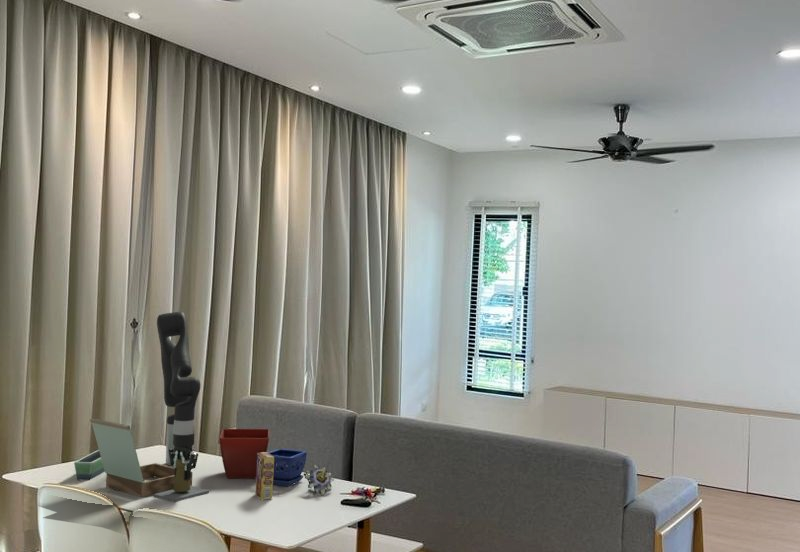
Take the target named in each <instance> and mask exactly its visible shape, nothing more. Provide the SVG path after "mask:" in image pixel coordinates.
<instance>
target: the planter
mask: <svg viewBox="0 0 800 552" xmlns="http://www.w3.org/2000/svg"><path fill="white" fill-rule="evenodd" d="M73 464H74V469H75V474H76V480H78V479H87V480H86V481H91V480H92V479H94V478H97V477H98V476H99V475H101V474H102V473H105V470H104V467H103V463H102V459H101V455H100V452H99V449H97V450H96V451H93V452H91V453H89V454H87V455H86V456H83V457H82V458H80V459H78V460H76V461H74V463H73ZM90 479H91V480H90Z"/></svg>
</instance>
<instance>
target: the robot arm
mask: <svg viewBox="0 0 800 552" xmlns="http://www.w3.org/2000/svg"><path fill="white" fill-rule="evenodd" d="M156 318H157V319H156V327H157V333H158V339H159V344H160V356H161V357H160V358H161V370H162V376H163V399H164V404H165V406H166V407H169V408H174V413H173V414H171V415H168V416H167V418H166V439H165V440H166V445H165V448H166V449H165V466H170V467H174V468H175V474H174V475H175V477H176V471H177V468H176V466H175V463H176V461H177V460H179V459H180V460H182V463H183V464H184V465H185V466H184V468H185V470H184V480H185V481H188V480H190V478H191V472H192V470H194V469H196V467H197V463H198V457H199V453H198V452H194V451H193V446H194V445H195V432H196V430H195V428H196V424H195V423H196V422H195V411H196V409H195V408H196V403H197V399H198V397H199V394H200V390H201V381H200V379H199V378H198V377H196V376H191V375H192V372H193V368H192V363H191V357H190V351H189V350H190V349H189V347H190V346H189V331H188V329H189V328H188V323H187V321H188V320H187V318H186V315H185V313H184V312H183V311H175V312H167V313H166V312H165V313H162V314H159V315H158V316H157V317H156ZM176 336H179V338H178V341H177V343H175V342H173V341H172V340H171V339H170V337H176ZM186 460H189V461H186ZM187 463H189V465H188V467H187Z"/></svg>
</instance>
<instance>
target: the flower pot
mask: <svg viewBox="0 0 800 552" xmlns="http://www.w3.org/2000/svg"><path fill="white" fill-rule="evenodd" d="M267 453H269V454H271V455H272V456H273V457H274V471H273V484H275V486H281V485H282V486H281V487H283V486H284V487H290V486H292V485H294V483H295V484H296V483H300V481H302V480H303V478H304V474H303V475H302V473H303V471H304V468H305V465H306V462H307V461H306V460H307V451H305V450H298V449H297V450H296V449H286V448H278V449H275V450H274V449H273V450H271V451H267Z"/></svg>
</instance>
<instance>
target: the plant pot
mask: <svg viewBox="0 0 800 552" xmlns="http://www.w3.org/2000/svg"><path fill="white" fill-rule="evenodd" d="M269 441H270V429H268V428H222V431H221V434H220V436H219V446H220V453H221V458H222V459H221V460H222V465H223V469H224V472H225V473H224V474H225V476H226V478H227V479H256V469H257V453H261V452H267V453H268V447H269Z"/></svg>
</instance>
